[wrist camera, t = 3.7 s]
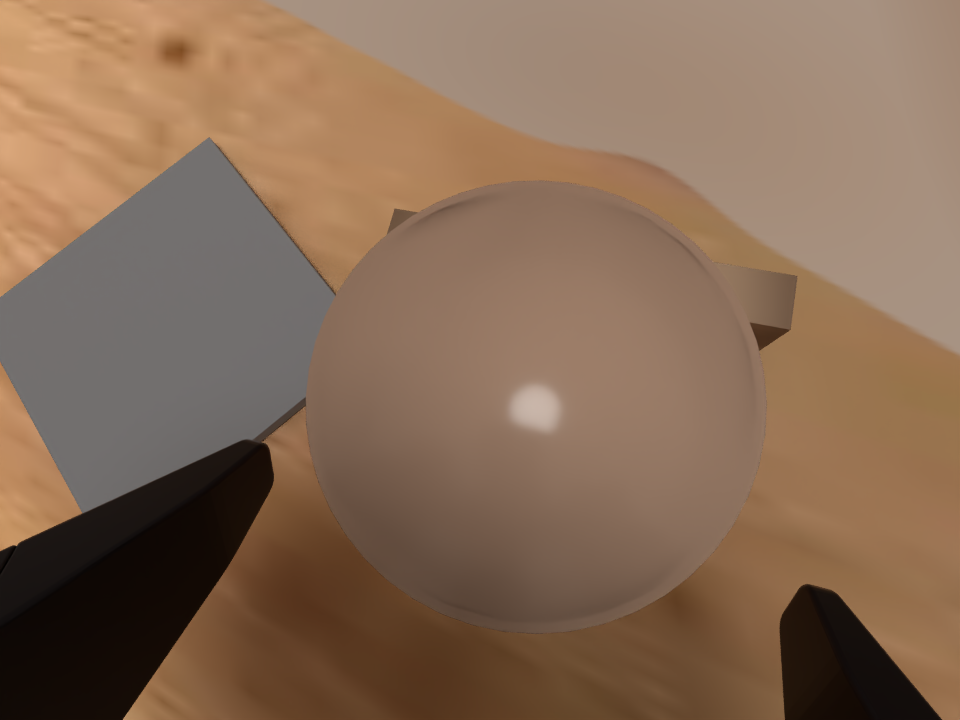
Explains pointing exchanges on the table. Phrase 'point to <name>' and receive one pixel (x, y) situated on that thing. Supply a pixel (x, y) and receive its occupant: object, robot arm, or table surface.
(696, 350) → the terracotta jar
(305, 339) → the dark grey mat
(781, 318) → the walnut rail
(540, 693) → the table surface
